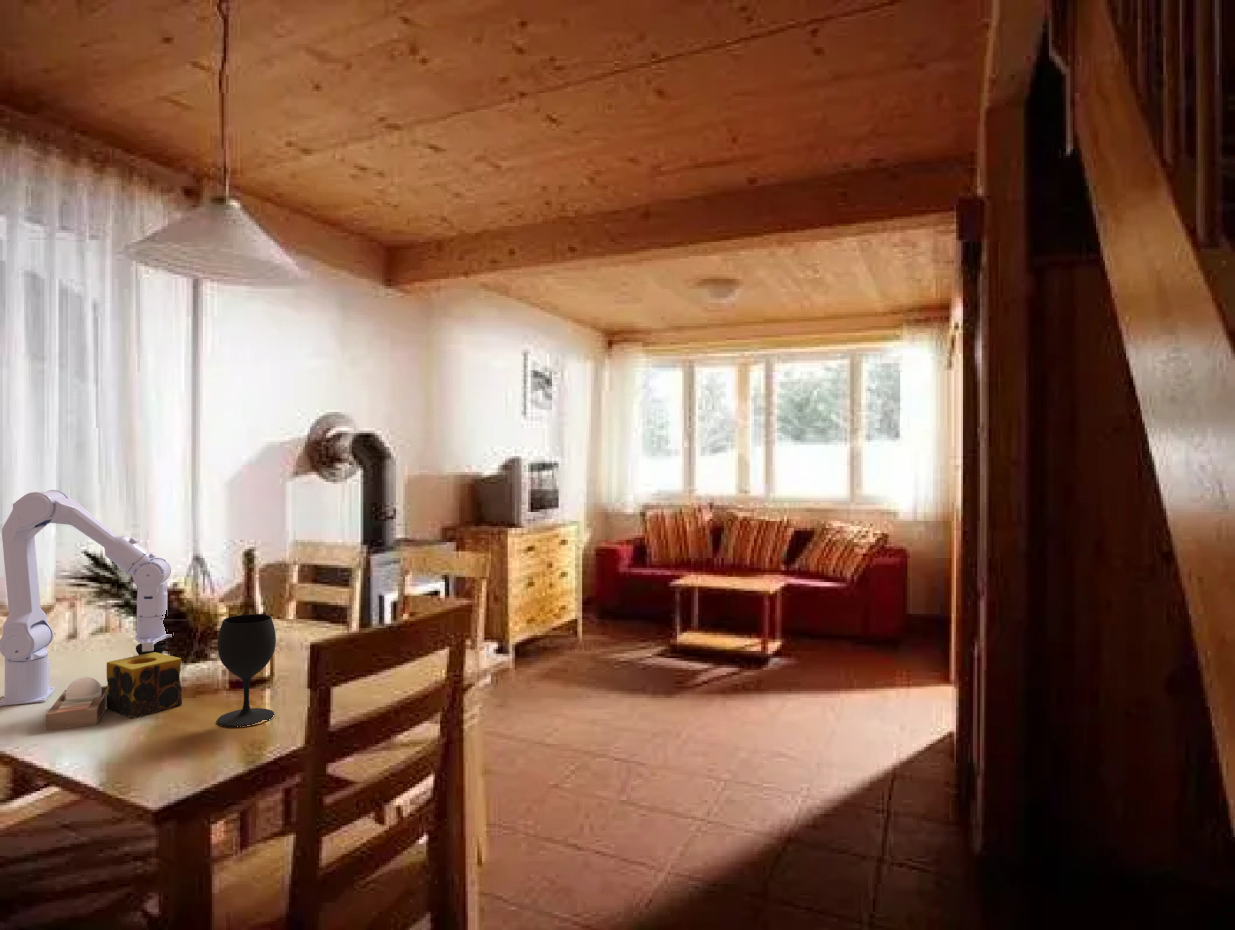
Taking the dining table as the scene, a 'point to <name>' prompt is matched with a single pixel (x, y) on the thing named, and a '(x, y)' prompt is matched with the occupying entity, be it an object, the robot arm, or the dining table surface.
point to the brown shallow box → (76, 711)
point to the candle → (143, 684)
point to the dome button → (84, 689)
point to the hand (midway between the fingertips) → (151, 676)
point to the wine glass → (246, 660)
